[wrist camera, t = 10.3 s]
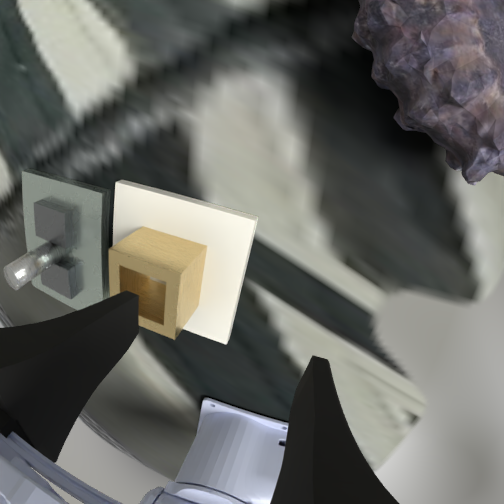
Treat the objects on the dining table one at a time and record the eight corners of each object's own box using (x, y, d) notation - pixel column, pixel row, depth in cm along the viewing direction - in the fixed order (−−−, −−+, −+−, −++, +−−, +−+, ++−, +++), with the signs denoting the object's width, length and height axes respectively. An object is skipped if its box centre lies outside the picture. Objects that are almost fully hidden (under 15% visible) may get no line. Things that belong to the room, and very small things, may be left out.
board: (258, 216, 20) (255, 220, 19) (229, 338, 24) (226, 344, 23) (122, 179, 21) (115, 182, 20) (118, 295, 25) (113, 300, 25)
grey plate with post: (110, 190, 21) (43, 220, 15) (110, 317, 27) (66, 363, 21) (30, 168, 23) (-30, 189, 17) (38, 281, 28) (-6, 313, 22)
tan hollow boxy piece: (207, 245, 20) (180, 274, 17) (198, 305, 23) (174, 339, 19) (143, 226, 21) (108, 249, 17) (140, 284, 23) (111, 313, 20)
